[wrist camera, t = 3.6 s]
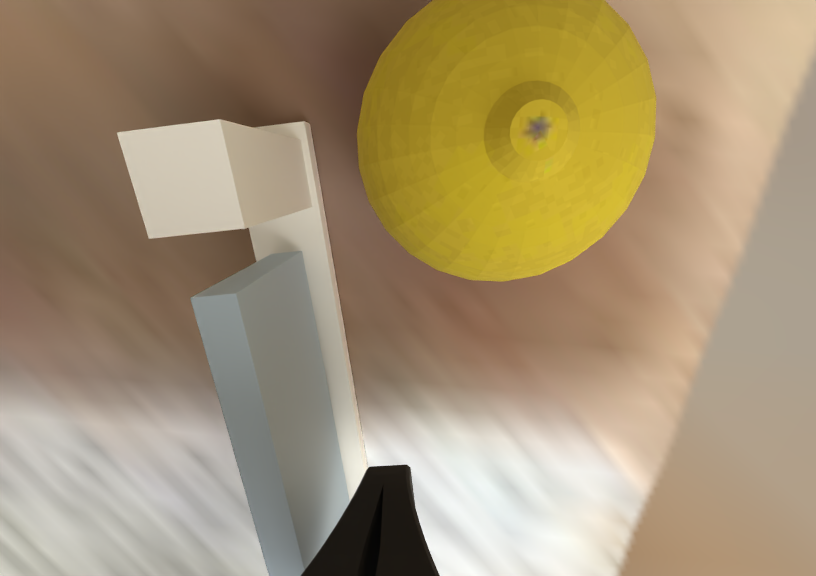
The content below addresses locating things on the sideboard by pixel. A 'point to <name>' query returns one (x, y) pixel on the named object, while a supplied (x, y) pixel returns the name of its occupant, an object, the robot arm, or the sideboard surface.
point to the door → (276, 406)
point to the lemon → (506, 133)
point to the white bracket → (253, 223)
